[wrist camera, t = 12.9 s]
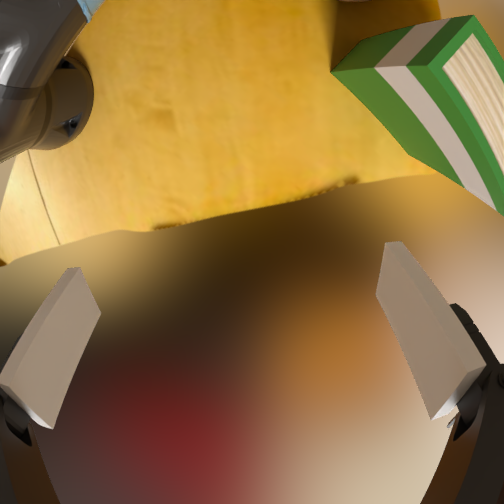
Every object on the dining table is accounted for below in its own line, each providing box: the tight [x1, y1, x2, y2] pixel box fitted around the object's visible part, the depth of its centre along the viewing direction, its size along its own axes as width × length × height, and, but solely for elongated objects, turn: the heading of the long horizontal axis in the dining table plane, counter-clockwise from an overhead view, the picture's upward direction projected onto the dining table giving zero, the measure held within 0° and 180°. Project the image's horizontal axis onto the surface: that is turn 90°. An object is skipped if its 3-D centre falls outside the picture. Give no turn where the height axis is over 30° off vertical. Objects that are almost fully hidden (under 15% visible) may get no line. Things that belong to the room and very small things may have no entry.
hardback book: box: [330, 15, 504, 216], centre depth 25 cm, size 18×7×24 cm, turn 52°
